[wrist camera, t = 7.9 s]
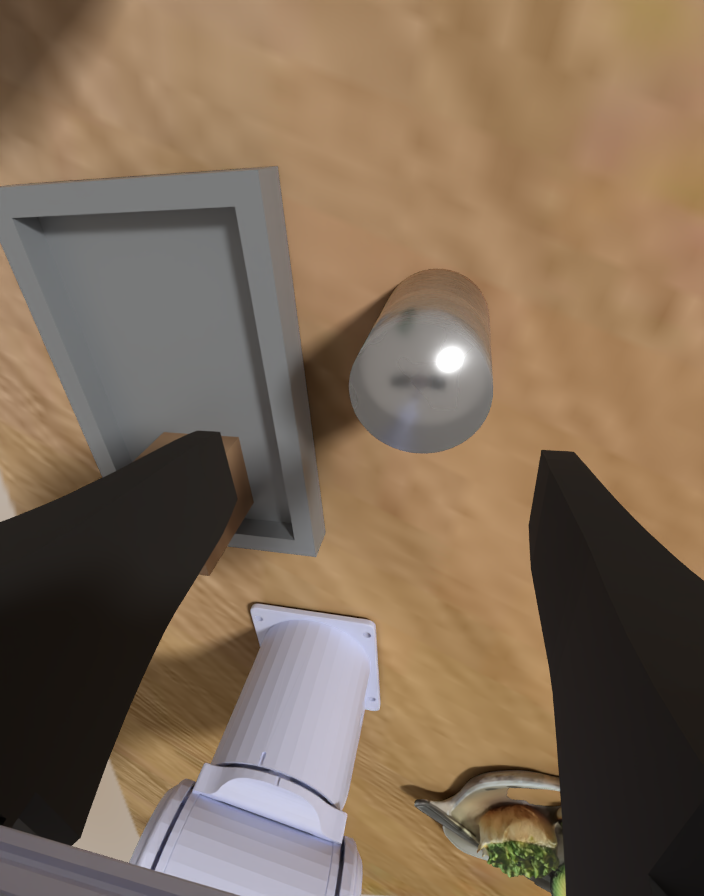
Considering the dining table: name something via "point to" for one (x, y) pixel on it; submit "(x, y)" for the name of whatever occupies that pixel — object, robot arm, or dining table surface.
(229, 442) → the walnut block
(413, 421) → the steel cylinder
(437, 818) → the salad plate
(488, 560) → the dining table surface
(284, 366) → the tray
